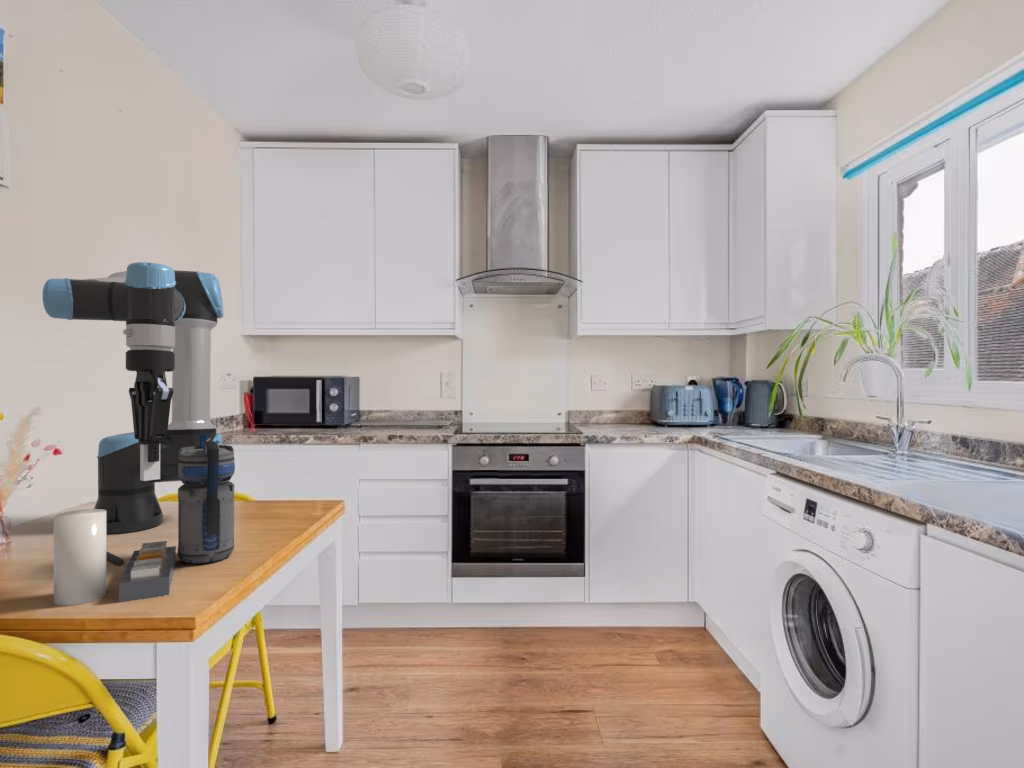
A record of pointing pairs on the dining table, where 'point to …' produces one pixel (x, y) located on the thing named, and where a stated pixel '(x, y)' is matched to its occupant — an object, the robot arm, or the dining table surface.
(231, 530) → the beverage bottle
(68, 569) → the white glossy cylinder
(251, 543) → the dining table surface
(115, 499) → the robot arm
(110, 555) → the dark gray rod
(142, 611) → the dining table surface
